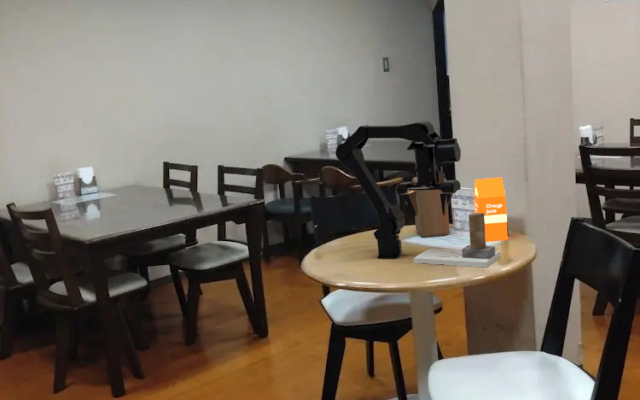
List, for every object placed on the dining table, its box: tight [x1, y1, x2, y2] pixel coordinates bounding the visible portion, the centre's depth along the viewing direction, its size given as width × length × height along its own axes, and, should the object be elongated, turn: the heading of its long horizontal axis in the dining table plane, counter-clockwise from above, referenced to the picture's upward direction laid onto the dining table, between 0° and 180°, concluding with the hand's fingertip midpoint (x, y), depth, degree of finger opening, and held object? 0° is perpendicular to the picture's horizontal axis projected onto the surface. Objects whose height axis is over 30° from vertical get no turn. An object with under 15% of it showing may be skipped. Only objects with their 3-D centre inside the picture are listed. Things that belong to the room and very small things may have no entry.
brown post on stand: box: [461, 212, 496, 259], centre depth 193 cm, size 8×5×12 cm, turn 56°
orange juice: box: [473, 176, 509, 243], centre depth 218 cm, size 8×9×20 cm
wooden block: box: [411, 176, 450, 238], centre depth 233 cm, size 10×10×20 cm
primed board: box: [413, 247, 500, 268], centre depth 198 cm, size 22×12×2 cm, turn 58°
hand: (430, 215), depth 201 cm, fingers open, 9 cm apart
